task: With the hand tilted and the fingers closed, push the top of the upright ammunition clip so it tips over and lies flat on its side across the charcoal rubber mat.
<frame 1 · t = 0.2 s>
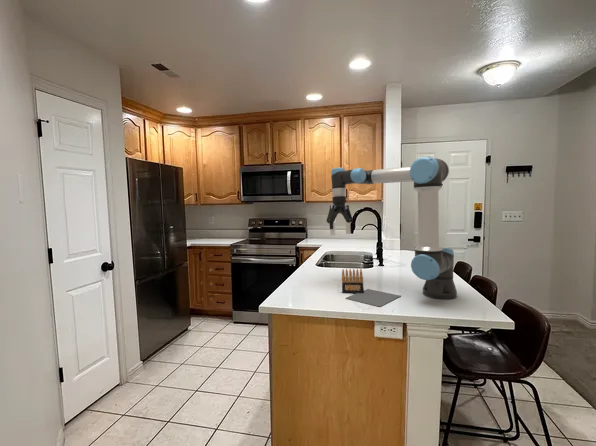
hand: (340, 234, 172), 27 cm above the countertop, tool pointing down, fingers open, 13 cm apart
rubber mat: (373, 297, 148), on the countertop
ammunition clip: (353, 292, 156), on the countertop, touching rubber mat
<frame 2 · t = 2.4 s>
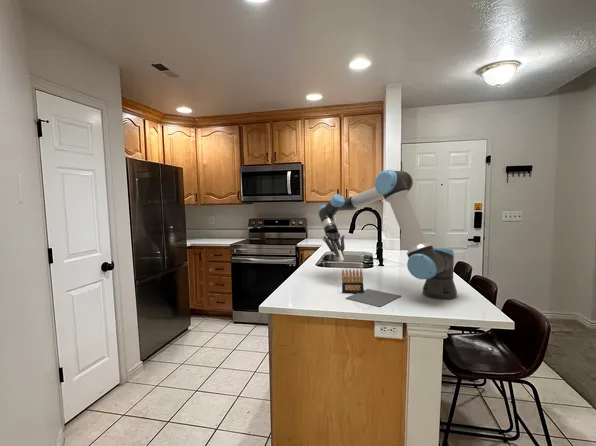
hand: (342, 261, 167), 14 cm above the countertop, tool tilted 45°, fingers closed
nothing on the countertop moved.
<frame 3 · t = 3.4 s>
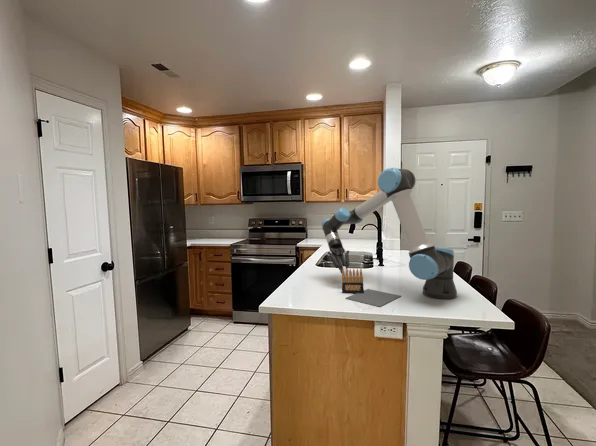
hand: (346, 278, 161), 6 cm above the countertop, tool tilted 45°, fingers closed
nothing on the countertop moved.
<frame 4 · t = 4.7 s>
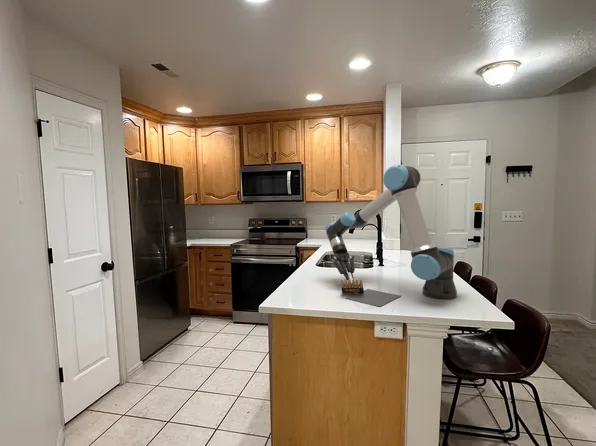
hand: (352, 284, 156), 4 cm above the countertop, tool tilted 45°, fingers closed
ammunition clip: (352, 291, 155), point 1 cm above the countertop, touching rubber mat
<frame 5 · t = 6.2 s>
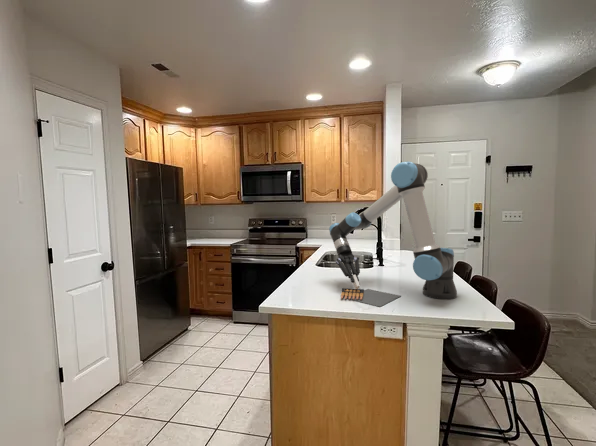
hand: (357, 287, 151), 4 cm above the countertop, tool tilted 45°, fingers closed
ammunition clip: (352, 290, 155), point 2 cm above the countertop, touching rubber mat
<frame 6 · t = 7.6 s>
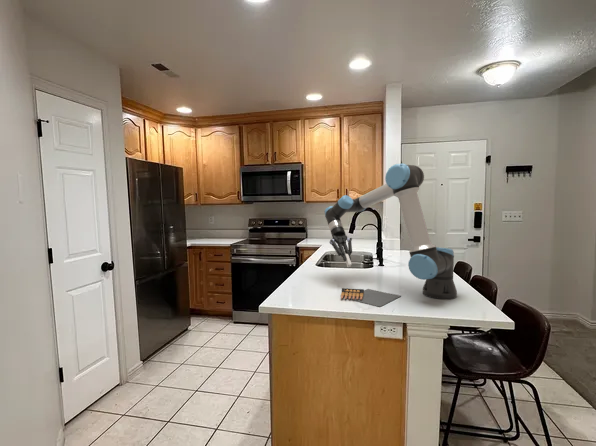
hand: (349, 265, 161), 13 cm above the countertop, tool tilted 45°, fingers closed
nothing on the countertop moved.
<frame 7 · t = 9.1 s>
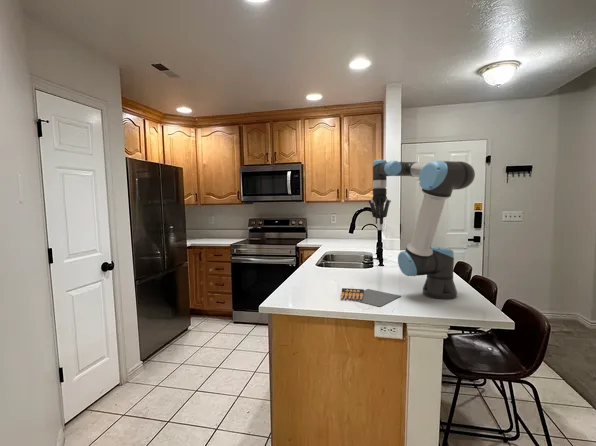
hand: (379, 229, 177), 29 cm above the countertop, tool pointing down, fingers closed
nothing on the countertop moved.
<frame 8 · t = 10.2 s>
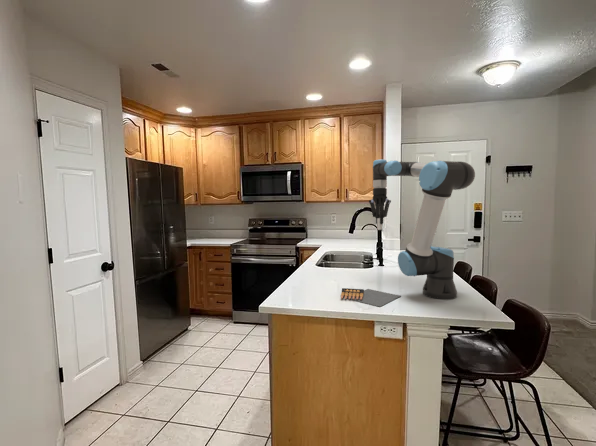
hand: (379, 229, 177), 29 cm above the countertop, tool pointing down, fingers closed
nothing on the countertop moved.
at the end: ammunition clip tilted 93°; ammunition clip touching rubber mat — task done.
